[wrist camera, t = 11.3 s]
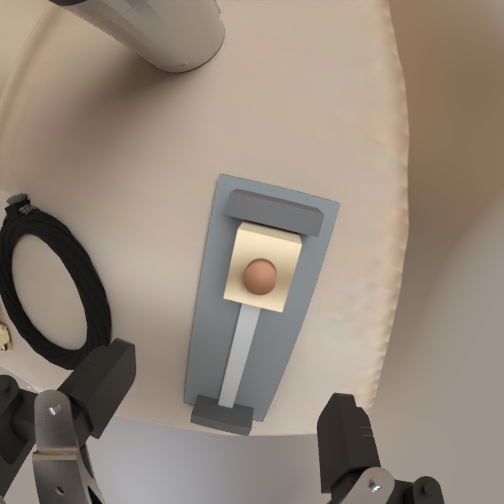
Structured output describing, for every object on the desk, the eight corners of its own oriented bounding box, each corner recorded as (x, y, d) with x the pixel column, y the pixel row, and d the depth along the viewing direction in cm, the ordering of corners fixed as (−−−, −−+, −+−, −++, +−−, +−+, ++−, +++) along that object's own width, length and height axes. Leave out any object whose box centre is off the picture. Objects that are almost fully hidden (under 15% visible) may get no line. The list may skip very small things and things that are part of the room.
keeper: (245, 217, 26) (234, 233, 20) (298, 230, 26) (303, 250, 19) (232, 276, 28) (219, 307, 21) (281, 288, 28) (281, 322, 21)
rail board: (222, 174, 28) (209, 175, 22) (337, 202, 27) (349, 209, 22) (186, 396, 37) (176, 421, 32) (263, 414, 37) (260, 442, 32)
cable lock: (27, 364, 37) (-25, 216, 29) (38, 354, 41) (-10, 212, 33) (131, 385, 34) (63, 170, 25) (141, 369, 37) (82, 168, 29)
